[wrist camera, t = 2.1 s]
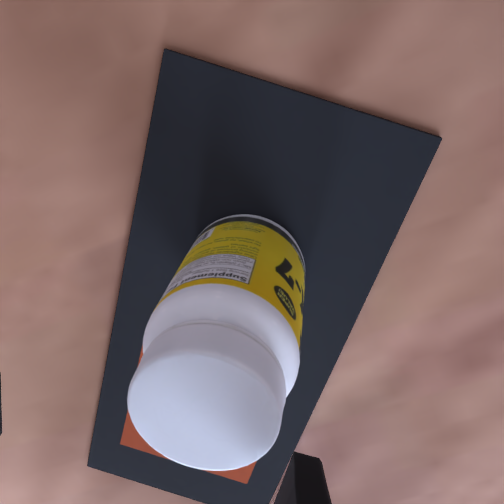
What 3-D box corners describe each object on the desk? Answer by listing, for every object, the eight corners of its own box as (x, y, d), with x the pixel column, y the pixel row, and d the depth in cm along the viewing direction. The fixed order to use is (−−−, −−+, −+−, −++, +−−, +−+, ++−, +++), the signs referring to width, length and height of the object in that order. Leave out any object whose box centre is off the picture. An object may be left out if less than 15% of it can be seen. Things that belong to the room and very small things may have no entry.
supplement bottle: (310, 313, 20) (302, 487, 13) (201, 316, 21) (133, 482, 13) (301, 205, 18) (286, 336, 11) (181, 214, 19) (88, 341, 11)
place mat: (441, 137, 17) (442, 138, 16) (261, 517, 26) (260, 521, 26) (165, 48, 16) (163, 48, 16) (88, 463, 26) (86, 466, 26)
